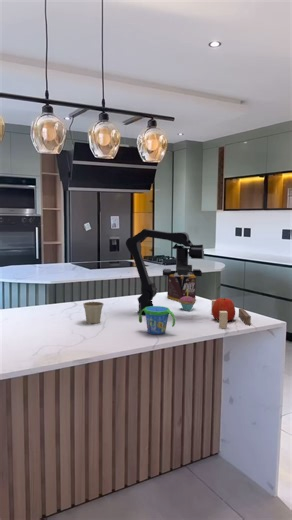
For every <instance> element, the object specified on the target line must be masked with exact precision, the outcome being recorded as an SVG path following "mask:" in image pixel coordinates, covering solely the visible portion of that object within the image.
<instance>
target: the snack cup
mask: <svg viewBox="0 0 292 520" xmlns="http://www.w3.org/2000/svg"><path fill="white" fill-rule="evenodd" d="M143 311H144V312H145V315H144V316H145V322H146V328H147V332H148V333H149V334H152V335H162V334H165V333H166V331H167V325H168V319H169V316H170V317H171V318H172V325H171V327H172V328H173V327H175V324H176V317H175V315H174V313H173V311H171V310H170V308H169V307H167V306H163V305H153V306H149V307H146V308H145V309H143V310H142V311H141V312H140V314H139V313H138V322H139V323H142V322H143V317H142V316H143V315H142V312H143Z"/></svg>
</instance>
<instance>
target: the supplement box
mask: <svg viewBox="0 0 292 520" xmlns="http://www.w3.org/2000/svg"><path fill="white" fill-rule="evenodd" d="M180 276H181V285H182V279H183V275H180ZM189 276H190V278H187V280H186V282H185V284H184V287H183V290H181V289H180V285H179V282H178V280H177V278H175V277H174V274H171V275H170V276H167V293H166V294H167V296H166V297H167V299H170V300H172V301H176V302H178V303H179V300H180V298H182V297H184V296H187V289H188V296H190V297H192V298H194V299H195V300H196V295H197V294H196V292H197V291H196V290H197V289H196V285H197V283H196V281H197V276H195V275H194V274H190V275H189Z"/></svg>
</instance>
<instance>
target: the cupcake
mask: <svg viewBox="0 0 292 520" xmlns="http://www.w3.org/2000/svg"><path fill="white" fill-rule="evenodd" d="M178 303H179V304H180V305H181V307H182V310H184V311H192V310H193V307H194V304H196V298H195V299H194V298H192V297H190V296H188V289H187V296H184V297H182V298H180V300H179V302H178Z"/></svg>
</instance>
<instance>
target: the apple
mask: <svg viewBox="0 0 292 520" xmlns="http://www.w3.org/2000/svg"><path fill="white" fill-rule="evenodd" d="M215 300H216V301H215V303H214V305H213V307H212V306H211V309H212V313H211V315H212V314H213V315H212V317H213V318H214V319H216V320H217V319H218V320H219V311H227V313H228V314H227V322H229V321H232V320H234V319H235V316H236V308H235V307H236V306H235V304H234V302H233V300H232V299H230V298H225V297H222V298H219V297H218V298H217V299H215ZM218 320H217V321H218Z"/></svg>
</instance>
